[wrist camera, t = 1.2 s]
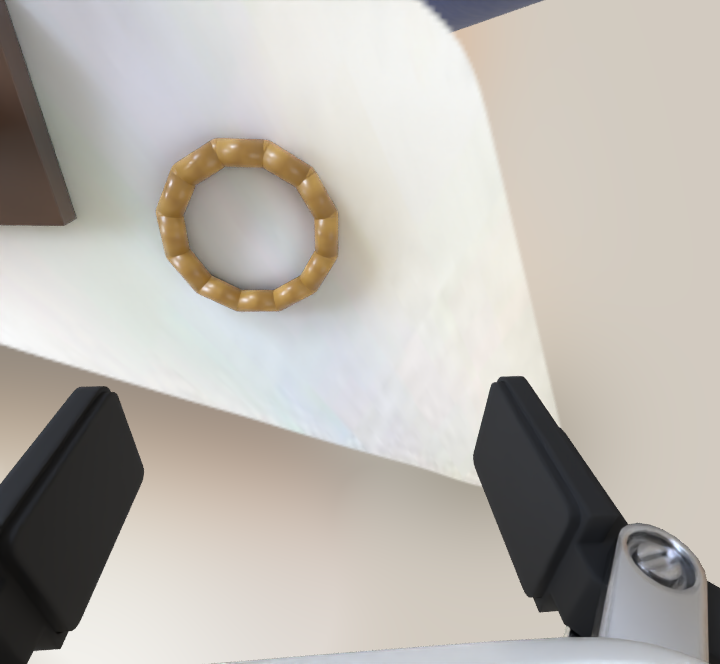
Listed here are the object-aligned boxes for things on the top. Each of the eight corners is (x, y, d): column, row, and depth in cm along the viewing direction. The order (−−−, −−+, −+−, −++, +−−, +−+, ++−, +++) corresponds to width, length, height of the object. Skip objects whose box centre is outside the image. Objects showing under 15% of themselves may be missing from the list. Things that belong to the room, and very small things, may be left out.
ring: (144, 134, 19) (134, 137, 18) (338, 139, 19) (339, 143, 18) (181, 305, 23) (175, 316, 22) (337, 304, 24) (338, 314, 23)
